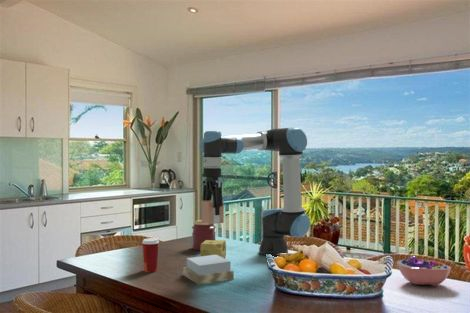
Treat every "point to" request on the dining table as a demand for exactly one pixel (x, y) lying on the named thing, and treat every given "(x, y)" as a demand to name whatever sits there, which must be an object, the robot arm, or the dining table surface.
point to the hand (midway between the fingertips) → (212, 221)
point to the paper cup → (150, 254)
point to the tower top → (208, 264)
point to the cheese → (213, 248)
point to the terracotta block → (210, 212)
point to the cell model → (423, 271)
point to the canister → (202, 233)
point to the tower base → (207, 276)
